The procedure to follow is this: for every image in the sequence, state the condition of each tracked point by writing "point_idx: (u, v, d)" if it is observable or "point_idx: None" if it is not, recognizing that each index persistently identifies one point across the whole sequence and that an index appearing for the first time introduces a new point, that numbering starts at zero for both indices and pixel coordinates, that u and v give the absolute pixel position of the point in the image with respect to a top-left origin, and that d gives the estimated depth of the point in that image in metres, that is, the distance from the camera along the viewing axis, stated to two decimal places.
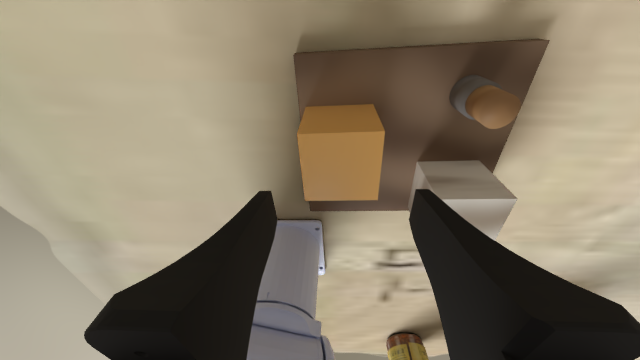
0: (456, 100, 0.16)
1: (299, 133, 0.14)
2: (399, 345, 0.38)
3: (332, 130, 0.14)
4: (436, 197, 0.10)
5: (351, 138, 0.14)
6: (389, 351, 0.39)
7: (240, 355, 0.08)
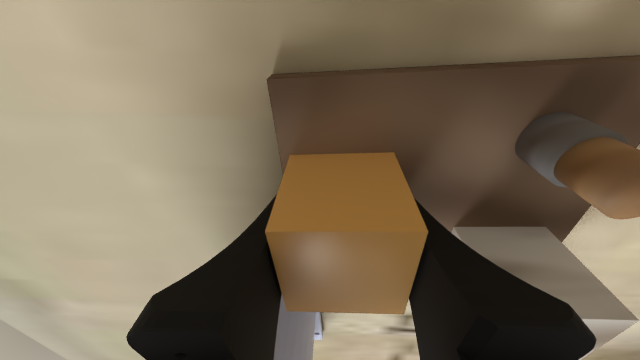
0: (533, 154, 0.10)
1: (269, 229, 0.07)
2: None
3: (329, 222, 0.08)
4: None
5: (364, 240, 0.07)
6: None
7: (269, 357, 0.08)
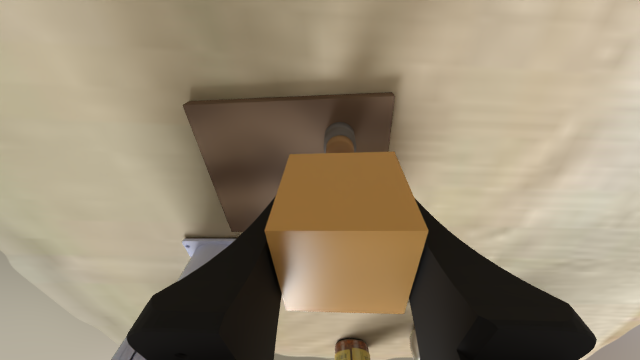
0: None
1: (269, 228, 0.07)
2: (343, 351, 0.40)
3: (329, 221, 0.08)
4: None
5: (364, 239, 0.07)
6: (335, 356, 0.41)
7: (269, 356, 0.08)
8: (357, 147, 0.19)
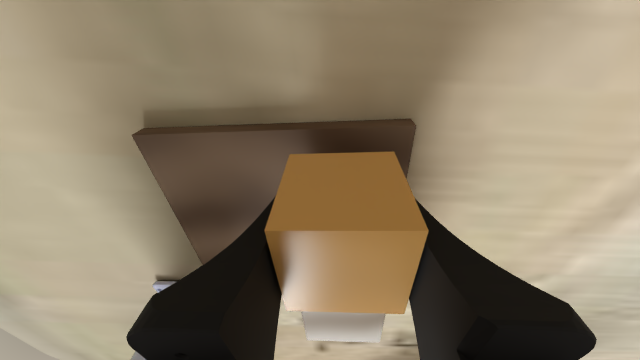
0: None
1: (269, 228, 0.07)
2: None
3: (329, 222, 0.08)
4: None
5: (364, 239, 0.07)
6: None
7: (269, 356, 0.08)
8: None
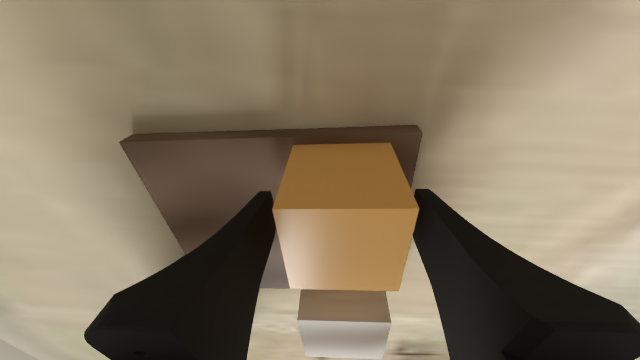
0: None
1: (276, 207, 0.08)
2: None
3: (330, 201, 0.08)
4: (436, 197, 0.10)
5: (361, 217, 0.08)
6: None
7: (240, 355, 0.08)
8: None
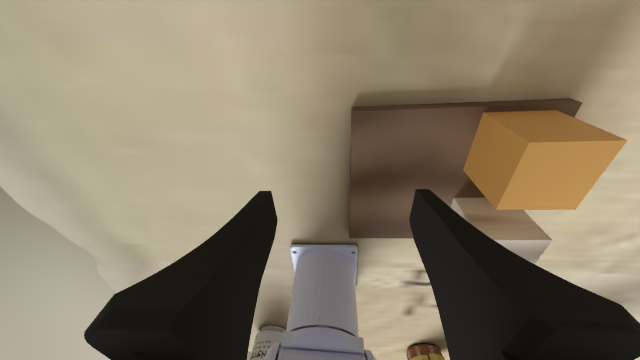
0: None
1: (530, 141, 0.13)
2: (420, 356, 0.40)
3: (563, 138, 0.13)
4: (436, 197, 0.10)
5: (585, 147, 0.13)
6: None
7: (240, 355, 0.08)
8: None
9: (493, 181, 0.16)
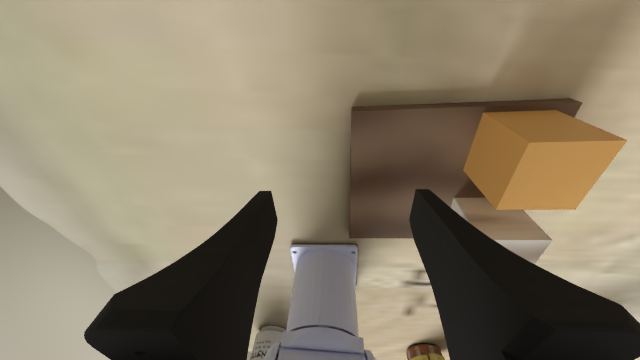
0: None
1: (530, 141, 0.13)
2: (420, 356, 0.40)
3: (563, 138, 0.13)
4: (436, 197, 0.10)
5: (585, 147, 0.13)
6: None
7: (240, 355, 0.08)
8: None
9: (493, 181, 0.16)
